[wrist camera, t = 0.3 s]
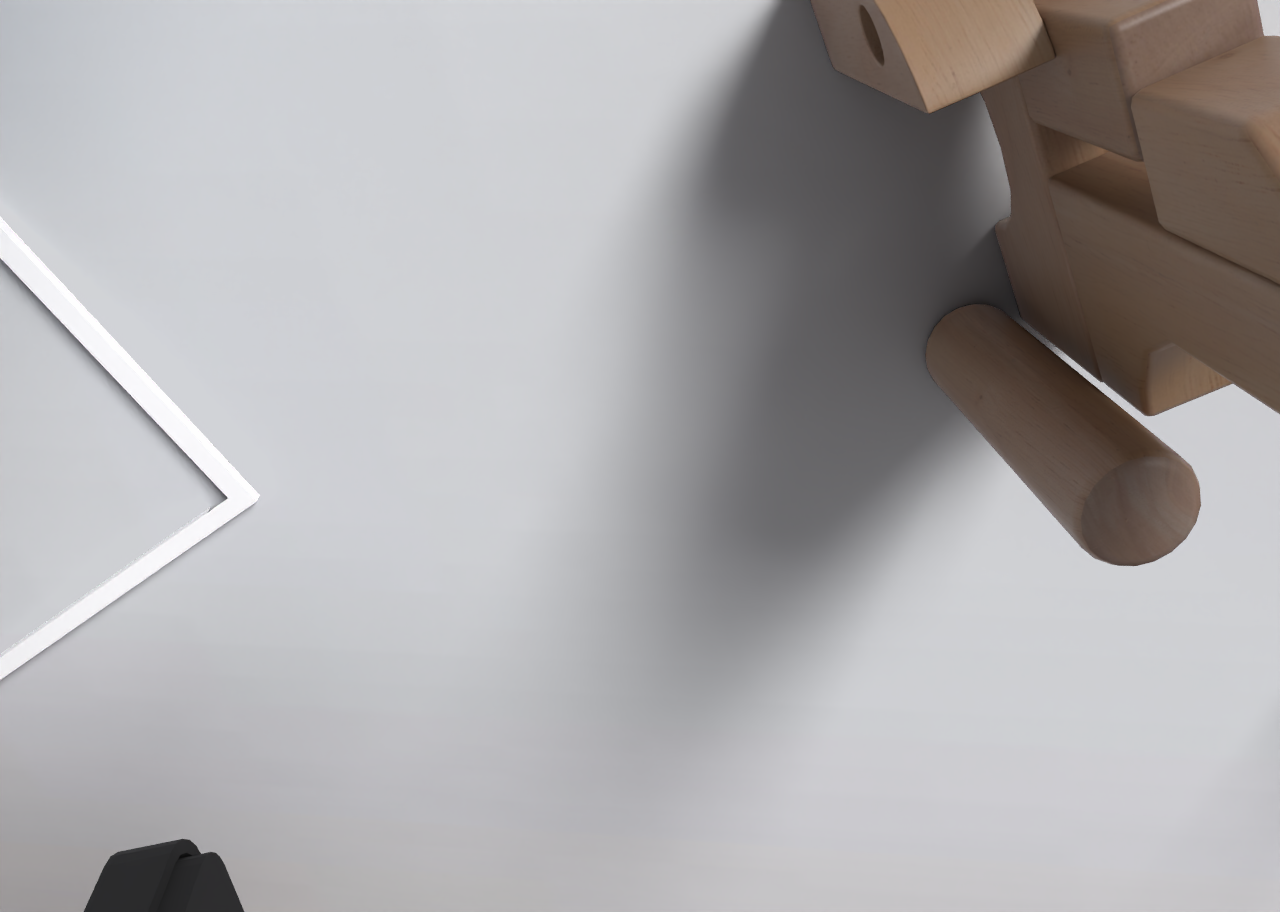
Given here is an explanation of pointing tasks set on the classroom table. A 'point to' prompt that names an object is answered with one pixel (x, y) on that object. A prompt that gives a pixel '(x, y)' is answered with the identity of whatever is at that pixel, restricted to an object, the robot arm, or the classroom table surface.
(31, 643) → the photo frame
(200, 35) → the classroom table surface
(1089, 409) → the wooden toy
